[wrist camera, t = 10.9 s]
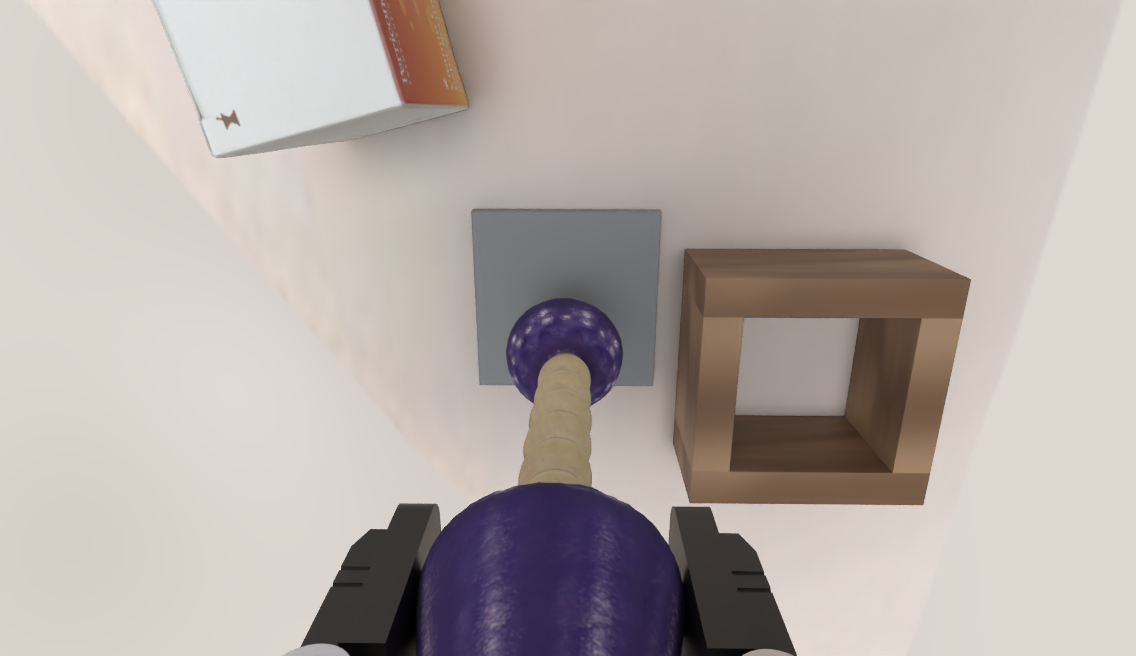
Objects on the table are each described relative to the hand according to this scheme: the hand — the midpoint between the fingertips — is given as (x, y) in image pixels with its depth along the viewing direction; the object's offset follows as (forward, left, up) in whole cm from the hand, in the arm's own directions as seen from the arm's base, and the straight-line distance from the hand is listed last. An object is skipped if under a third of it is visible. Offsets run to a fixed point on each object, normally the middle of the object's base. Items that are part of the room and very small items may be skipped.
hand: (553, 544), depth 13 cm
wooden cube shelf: (+3, +10, -17) cm, 20 cm away
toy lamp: (0, 0, -12) cm, 12 cm away
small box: (-11, -8, -18) cm, 22 cm away
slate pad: (0, 0, -17) cm, 17 cm away
